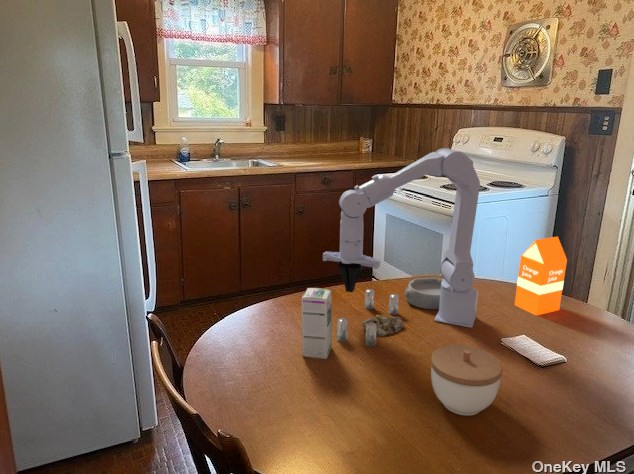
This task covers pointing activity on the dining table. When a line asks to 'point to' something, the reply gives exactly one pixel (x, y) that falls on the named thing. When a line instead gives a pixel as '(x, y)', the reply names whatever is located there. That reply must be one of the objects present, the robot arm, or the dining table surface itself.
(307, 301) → the syrup box
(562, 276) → the orange juice
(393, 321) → the mineral rock
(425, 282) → the dish
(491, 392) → the lidded bowl
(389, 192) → the robot arm
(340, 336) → the spacer posts
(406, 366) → the dining table surface
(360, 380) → the dining table surface
